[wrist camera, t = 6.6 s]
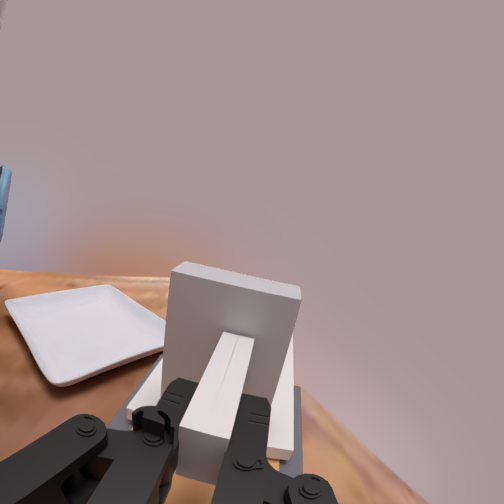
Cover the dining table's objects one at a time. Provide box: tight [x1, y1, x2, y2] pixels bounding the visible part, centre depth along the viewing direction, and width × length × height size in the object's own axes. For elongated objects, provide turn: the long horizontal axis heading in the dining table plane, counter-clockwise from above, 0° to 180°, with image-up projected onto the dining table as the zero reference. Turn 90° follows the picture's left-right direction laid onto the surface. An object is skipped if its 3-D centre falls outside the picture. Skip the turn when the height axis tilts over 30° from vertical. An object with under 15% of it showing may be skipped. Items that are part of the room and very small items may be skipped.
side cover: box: [126, 261, 301, 460], centre depth 22 cm, size 16×10×10 cm, turn 174°
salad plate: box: [4, 285, 166, 387], centre depth 38 cm, size 21×21×3 cm
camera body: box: [106, 354, 303, 504], centre depth 17 cm, size 20×12×9 cm, turn 174°
